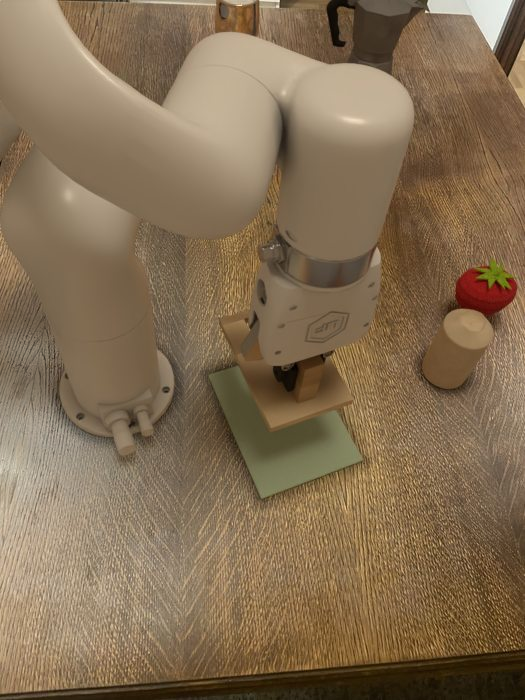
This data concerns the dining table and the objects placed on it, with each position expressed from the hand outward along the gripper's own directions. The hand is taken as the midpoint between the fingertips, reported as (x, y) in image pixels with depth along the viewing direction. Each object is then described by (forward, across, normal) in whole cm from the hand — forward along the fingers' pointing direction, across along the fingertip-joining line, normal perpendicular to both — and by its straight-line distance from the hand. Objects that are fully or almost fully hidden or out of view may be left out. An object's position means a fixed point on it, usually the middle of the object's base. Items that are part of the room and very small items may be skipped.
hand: (297, 374), depth 60 cm
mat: (+10, 0, +1) cm, 10 cm away
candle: (+10, +21, 0) cm, 23 cm away
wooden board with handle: (+2, 0, +3) cm, 3 cm away
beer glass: (+9, +18, +62) cm, 65 cm away
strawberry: (+10, +29, +6) cm, 31 cm away
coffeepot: (+10, +39, +56) cm, 69 cm away
